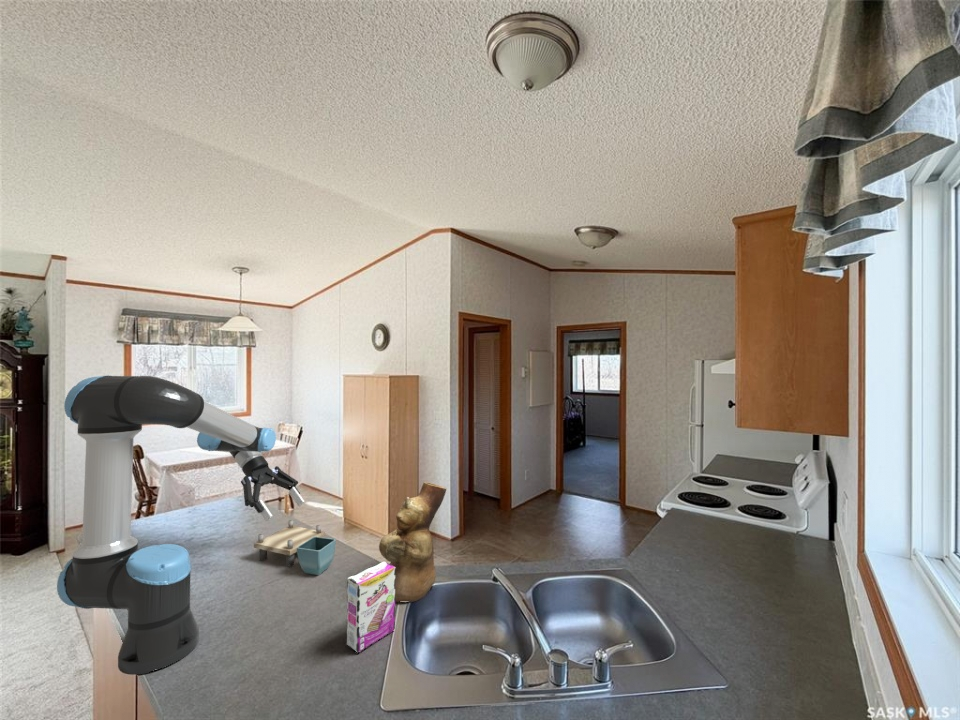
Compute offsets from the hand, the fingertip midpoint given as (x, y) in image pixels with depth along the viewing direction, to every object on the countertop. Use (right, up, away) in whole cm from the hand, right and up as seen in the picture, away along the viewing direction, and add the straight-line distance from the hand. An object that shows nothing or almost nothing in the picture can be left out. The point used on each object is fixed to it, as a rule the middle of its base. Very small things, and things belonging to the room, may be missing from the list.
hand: (286, 511), depth 139 cm
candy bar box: (+38, -18, -37) cm, 56 cm away
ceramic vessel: (+45, -18, -13) cm, 50 cm away
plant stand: (-2, -18, +7) cm, 19 cm away
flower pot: (+12, -18, -4) cm, 22 cm away
